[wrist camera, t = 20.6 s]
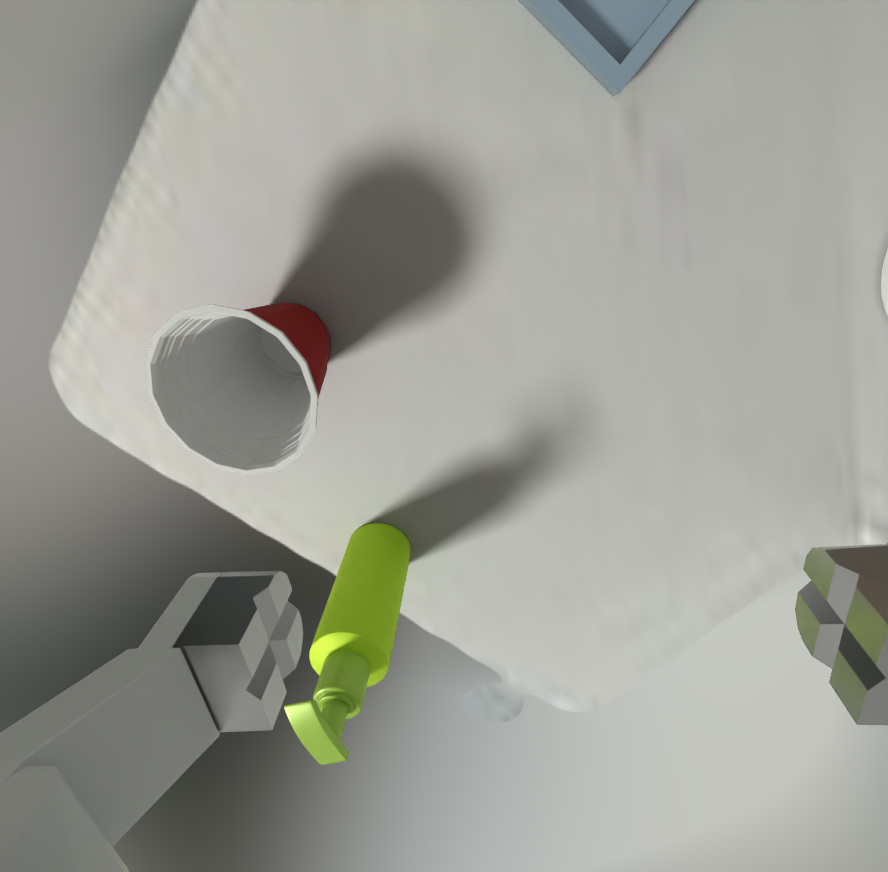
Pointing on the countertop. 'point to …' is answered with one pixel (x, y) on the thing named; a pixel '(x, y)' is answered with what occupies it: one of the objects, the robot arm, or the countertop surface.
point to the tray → (609, 32)
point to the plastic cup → (239, 383)
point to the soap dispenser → (353, 637)
